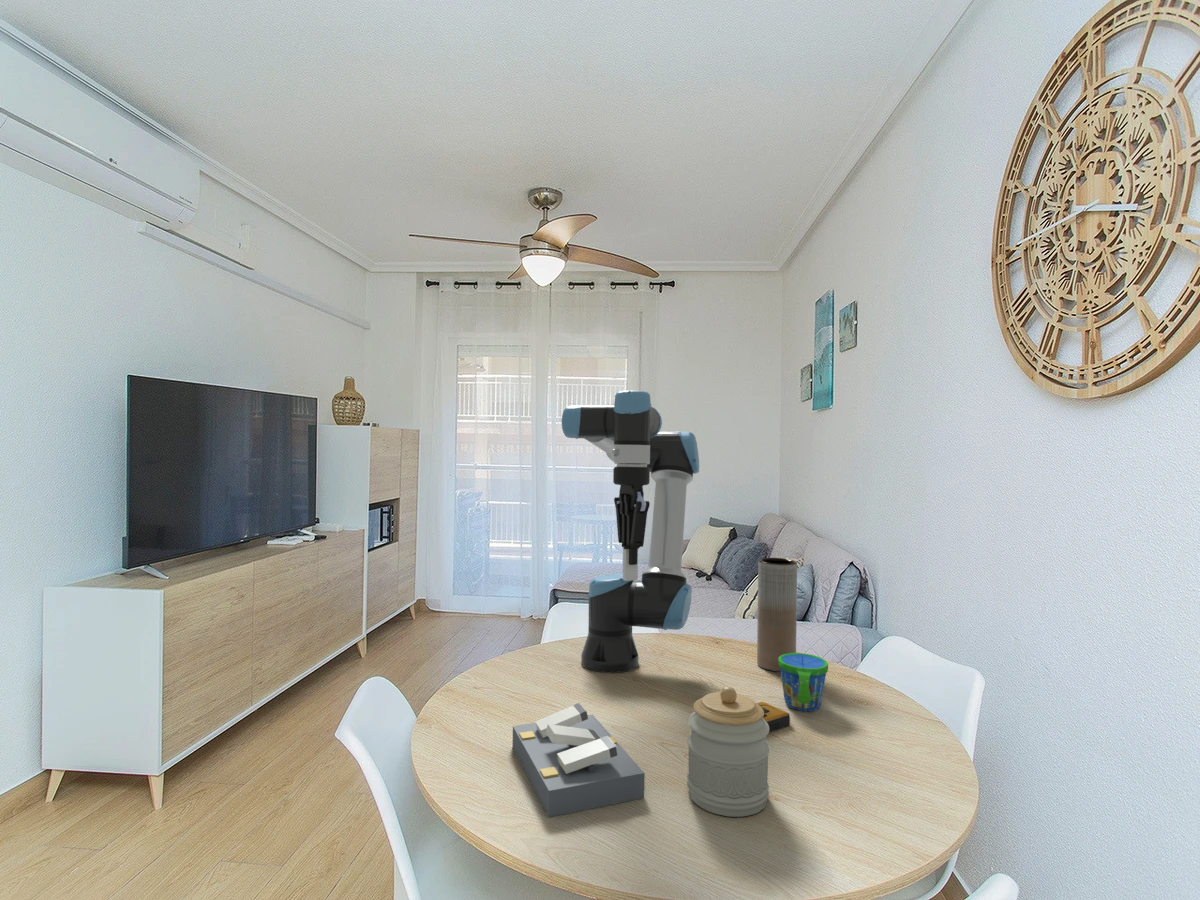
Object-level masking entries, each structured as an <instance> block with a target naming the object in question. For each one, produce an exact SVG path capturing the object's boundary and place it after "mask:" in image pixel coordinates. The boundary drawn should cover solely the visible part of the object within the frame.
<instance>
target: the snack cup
mask: <svg viewBox="0 0 1200 900" xmlns="http://www.w3.org/2000/svg"><path fill="white" fill-rule="evenodd" d="M778 664H779V667H780V669H781V672H780V677H781V684H782V693H783V699H784V702H785V704H786V705H787V707H788V708H792V709H793V710H796V711H798V712H799V711H800V712H814V711H818V710H819V709H820V707H821V703H822V698H823V692H824V689H825V683H826V676H827V673H828V671H829V663H828V661H827V660H825V659H824V658H822V657H819V656H817V655H814V654H809V653H800V652H796V653H788V654H783V655H781V656H780V657H779V658H778Z"/></svg>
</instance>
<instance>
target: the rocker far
mask: <svg viewBox="0 0 1200 900" xmlns="http://www.w3.org/2000/svg"><path fill="white" fill-rule="evenodd" d="M588 715H589V714H588V711H587V710H586V709H585V707H584V706H583V705H582V704H581V703H580V702H578V703H576V704H573V705H570V706H568V707H566V708H564V709H561V710H559V711H556V712H554V713H552V714H550V715H547V716H545V717H542V718H541V719H538V720H536V721H535V722H534V723H536V727H537V730H538V732H539V733H540V735H541V736H542V738H545V737H547V734H546V729H547V725H548V724H551V725H559V726H567V727H570V726H573V725H575V724H577V723H579V722H582V721H584V720H587V719H588Z"/></svg>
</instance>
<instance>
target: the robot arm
mask: <svg viewBox="0 0 1200 900" xmlns="http://www.w3.org/2000/svg"><path fill="white" fill-rule="evenodd" d="M613 402H614V403H613V404H611V405H610V404H609V405H608V404H607V405H606V404H604V405H603V404H602V405H600V404H599V405H597V404H596V405H594V404H591V405H588V404H587V405H585V404H583V405H581V404H578V405H568V406H566V407H565V408H564V410H563V411H562V415H561V430H562V432H563V435H564V436H565V437H566V438H568V439H576V440H577V439H584V440H586V441H587V442H589V443H591V444H592V445H594V446H596V448H598V449H600V450H602V452H605V454H606V456H607V457H608V459H609V460H610V461H612V462H613V463H614V464H615V465H616V466H614V468H613V469H612V470H613V475H612V477H613V479H612V480H613V481H612V482H613V484H614V485H617V486H619V494H618V496H617V497H616V496H614V499H613V501H614V502H613V503H614V506H615V515H616V516H615V517H616V528H617V541H618V543H619V544H621V547H622V572H621V573H609V574H604V575H599V576H596V577H594V578H592V579H591V580H590V582H589V589H588V595H587V598H588V628H587V629H588V631H587V636H586V639H585V642H584V645H583V649H582V652H581V655H580V656H581V658H580V659H581V662H580V663H581V666H583V667H584V668H585V669H588V670H590V671H594V672H599V673H610V674H611V673H613V674H614V673H623V672H624V673H625V672H628V671H631V670H634V669H636V668H637V667H638V666H639V658H640V657H639V652H638V649H637V645H636V643H635V640H634V636H633V627H638V628H651V629H659V630H660V629H661V630H663V631H666V630H675V631H676V630H682V628H684V627H685V625H686V623H687V621H688V617H689V613H690V609H691V604H692V592H693V590H692V589H693V588H692V585H690V584H689V583H687V577H686V575H685V574H684V572H682V564H683V563H682V562H683V547H684V546H683V545H684V532H685V531H684V530H685V517H686V516H685V514H686V501H687V487H688V485H689V484H690V483H691V482H692V481H693V479H694V474H695V475H696V474H698V473H699V472H700V459H699V458H700V457H699V447H698V442H697V439H696V436H695V434H694V433H693V432H690V431H681V430H677V431H676V430H675V431H674V430H672V431H671V430H667V431H665V430H662V431H661V429H662V425H663V420H662V415H660V414H661V413H659V411H658V410H657V409H656V408H655V407H653V406H652V402H651V395H650V393H649V392H648V391H644V390H621V391H617V392H616V393H615V395H614V401H613ZM650 477H651V479H652V480H653V481H654V482H655V488H654V489H655V490H654V500H653V509H652V510H653V512H652V523H651V535H650V547H649V559H648V567H647V569H645V570H644V571H643V572H642V575H641V580H639V579H638V573H639V569H638V568H639V566H638V565H639V564H638V563H639V562H638V561H639V559H638V558H639V549H640V548H642V547H644V543H645V535H646V527H647V518H648V517H647V516H648V511H649V509H650V505H651V503H650V501H649V500H648V501H647V500H645V499H644V495H645V494H644V489H643V488H644V487H643V486H649V484H650V480H651V479H650Z"/></svg>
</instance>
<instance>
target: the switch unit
mask: <svg viewBox="0 0 1200 900" xmlns="http://www.w3.org/2000/svg"><path fill="white" fill-rule="evenodd" d="M570 727H574V728H582V729H591V730H594V731H595V732H596V733H597V734H598V735H599V737H600V738H602V737H605V736H608V737H609V738H610V739H611V741H612V742H613V743H614V744H615V745H616V747H617V753H618V755H617V756H615V757H612V758H609V759H606V760H603V761H600V762H598V763H595V764H592V765H589V766H587V767H584V768H581V769H578V770H576V771H573V772H570V773H567V774H566V773H565V772H564V770H563V768H562V767H561V765H560V764H559V762H558V755H557V753H560V752H563V751H566V750H569V749H572V748H574V747H577V746H576V745H568V744H559V743H552V742H551V740H550V739H549V737H548V736H547V737H545V738H542V736H541V735H540V733H539V732H538V730H537V727H536V723H535V722H531V723H524V724H518V725H513V726H512V749H513V751H514V753H515V755H516V757H517V759H518V760H519V763H520V765H521V767H522V769H523V770H524V772H525V775H526V776H527V778H528V780H529V782H530V784H531V785H532V788H533V790H534V792H535V794H536V795H537V798H538V800H539V802H540V803H541V805H542V807H543V809H544V811H545V813H546V814H547V817H548V818H552V817H557V816H562V815H567V814H571V813H577V812H581V811H586V810H591V809H596V808H600V807H605V806H606V807H607V806H611V805H615V804H620V803H625V802H629V801H636V800H639V799H640V800H641V799H644V798H645V775H646V774H645V772H644V770H643V769H642V768H641V767H640V766H639V764H638V763H636V761H635V760H634V759H633V758H632V757H631V756H630V755H629V754H628V753H627V752H626V750H625V749H624V748H623V747H622V746H621V745H620V743H618V741H617V740H616V739H615V738H614V737H613V736H612V734H611V733H610V732H609V731H608V730H607V729H606V728H605V726H604V725H603V724H602V723H601V722H600V721H599V719H597V717H596V716H595V715H594V714H588V719H587V720H584V721H582V722H579V723H577V724H575V725H573V726H570Z"/></svg>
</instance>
